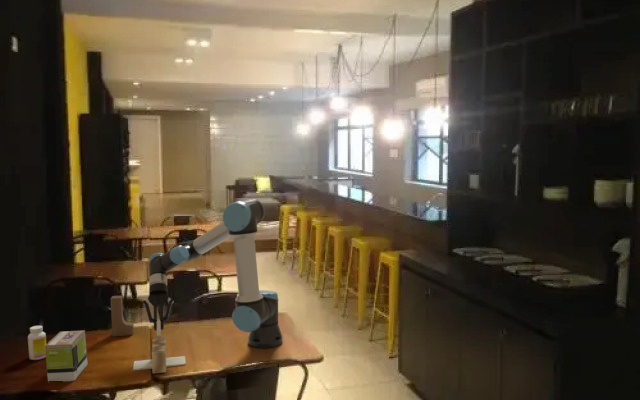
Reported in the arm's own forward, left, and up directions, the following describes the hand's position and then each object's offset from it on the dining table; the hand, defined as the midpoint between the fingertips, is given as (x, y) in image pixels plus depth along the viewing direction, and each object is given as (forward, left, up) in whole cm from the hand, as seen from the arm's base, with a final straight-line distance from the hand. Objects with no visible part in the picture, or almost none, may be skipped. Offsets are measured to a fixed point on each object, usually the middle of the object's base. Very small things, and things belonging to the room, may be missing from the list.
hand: (158, 336), depth 222 cm
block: (0, -2, -5) cm, 6 cm away
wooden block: (+17, -37, -10) cm, 42 cm away
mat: (0, +3, -10) cm, 11 cm away
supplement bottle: (+49, -18, -10) cm, 53 cm away
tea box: (+34, +3, -10) cm, 36 cm away
